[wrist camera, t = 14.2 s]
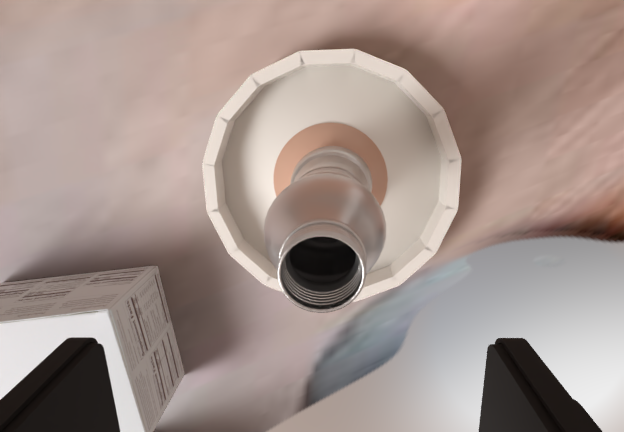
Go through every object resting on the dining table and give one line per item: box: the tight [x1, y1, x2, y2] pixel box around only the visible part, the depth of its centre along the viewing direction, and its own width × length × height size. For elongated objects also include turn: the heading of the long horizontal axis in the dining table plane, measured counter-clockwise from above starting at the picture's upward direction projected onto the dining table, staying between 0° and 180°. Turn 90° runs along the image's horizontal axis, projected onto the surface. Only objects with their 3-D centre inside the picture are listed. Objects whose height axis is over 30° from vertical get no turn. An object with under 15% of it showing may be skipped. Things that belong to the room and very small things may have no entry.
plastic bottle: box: [263, 146, 386, 313], centre depth 26 cm, size 6×7×20 cm
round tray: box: [202, 49, 462, 302], centre depth 35 cm, size 21×21×4 cm
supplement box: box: [0, 266, 185, 432], centre depth 39 cm, size 17×13×9 cm
